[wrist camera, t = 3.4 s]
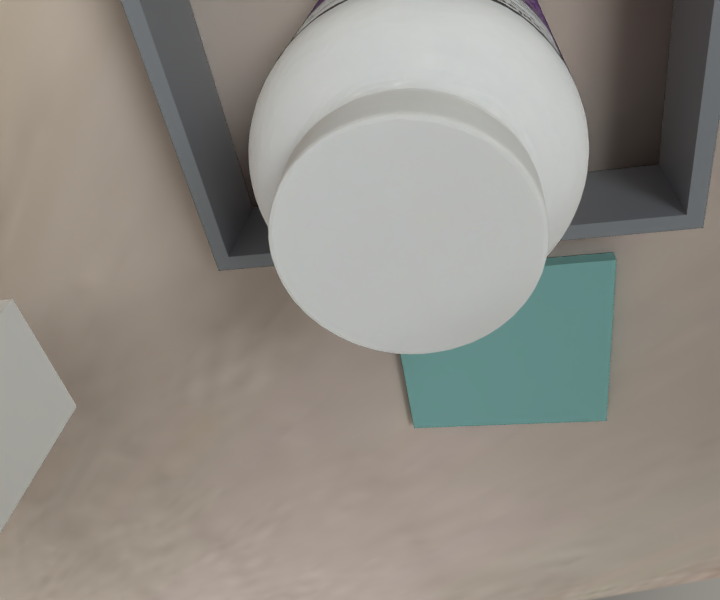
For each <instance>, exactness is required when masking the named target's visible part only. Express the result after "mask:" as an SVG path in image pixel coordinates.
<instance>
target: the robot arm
mask: <svg viewBox="0 0 720 600" xmlns="http://www.w3.org/2000/svg"><path fill="white" fill-rule="evenodd" d="M76 407H77V406H76V404H75V402H74V401H73V399H72V397H71V396H70V394H69V392H68V391H67V389H66V387H65V386H64V384H63V382H62V381H61V379H60V377H59V376H58V374H57V372H56V371H55V369H54V367H53V366H52V364H51V362H50V361H49V359H48V357H47V356H46V354H45V352H44V351H43V349H42V347H41V346H40V344H39V342H38V341H37V339H36V337H35V336H34V334H33V332H32V330H31V329H30V327H29V325H28V324H27V322H26V320H25V319H24V317H23V315H22V314H21V312H20V310H19V309H18V307H17V305H16V304H15V302H14V300H13V299H6V300H0V532H1V531H2V529H3V527H4V526H5V524H6V522H7V521H8V519H9V518H10V516H11V514H12V513H13V511H14V509H15V508H16V506H17V504H18V503H19V501H20V499H21V498H22V496H23V495H24V493H25V491H26V490H27V488H28V486H29V485H30V483H31V481H32V480H33V478H34V476H35V475H36V473H37V471H38V470H39V468H40V467H41V465H42V463H43V462H44V460H45V458H46V457H47V455H48V453H49V452H50V450H51V448H52V447H53V445H54V443H55V442H56V440H57V439H58V437H59V435H60V434H61V432H62V430H63V429H64V427H65V425H66V424H67V422H68V420H69V419H70V417H71V415H72V414H73V412H74V411H75V409H76Z"/></svg>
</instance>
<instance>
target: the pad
mask: <svg viewBox="0 0 720 600" xmlns="http://www.w3.org/2000/svg"><path fill="white" fill-rule="evenodd" d="M615 274H616V258H615V255H614V252H612V253H600V254H588V255H576V256H565V257H553V258H546V262H545V265H544V268H543V272H542V275H541V277H540V279H539V281H538V283H537V285H536V287H535V289H534V291H533V292H532V294H531V295H530V297H529V298H528V300H527V301H526V302H525V304H524V305H523V306H522V307H521V308H520V309H519V310H518V311H517V313H516V314H515V315H514V316H513V317H512V318H510V319H509V320H508V321H507V322H505V323H504V324H503V325H502V326H500V327H499V328H498V329H496V330H495V331H493V332H491V333H490V334H488V335H486V336H485V337H483V338H480V339H478V340H476V341H474V342H472V343H470V344H467V345H463V346H460V347H457V348H454V349H451V350H446V351H441V352H435V353H427V354H401V359H402V365H403V370H404V376H405V381H406V386H407V392H408V397H409V403H410V408H411V413H412V419H413V424H414V428H427V427H454V426H481V425H507V424H534V423H561V422H588V421H607V405H608V389H609V372H610V356H611V340H612V323H613V307H614V290H615Z"/></svg>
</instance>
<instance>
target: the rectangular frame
mask: <svg viewBox="0 0 720 600" xmlns="http://www.w3.org/2000/svg"><path fill="white" fill-rule="evenodd" d="M121 2H122V5H123V8H124V10H125V13H126V16H127V19H128V21H129V24H130V27H131V30H132V32H133V35H134V38H135V41H136V43H137V46H138V49H139V52H140V54H141V57H142V60H143V63H144V66H145V68H146V71H147V74H148V77H149V79H150V82H151V85H152V88H153V90H154V93H155V96H156V99H157V101H158V104H159V107H160V110H161V112H162V115H163V118H164V121H165V123H166V126H167V129H168V132H169V134H170V137H171V140H172V143H173V145H174V148H175V151H176V154H177V157H178V159H179V162H180V165H181V168H182V170H183V173H184V176H185V179H186V181H187V184H188V187H189V190H190V192H191V195H192V198H193V201H194V203H195V206H196V209H197V212H198V214H199V217H200V220H201V223H202V225H203V228H204V231H205V234H206V236H207V239H208V242H209V245H210V248H211V250H212V253H213V256H214V259H215V261H216V264H217V267H218V270H219V271H221V270H233V269H244V268H255V267H267V266H274V263H273V261H272V257H271V253H270V247H269V240H268V226H267V224H266V222H265V220H264V218H263V216H262V214H261V212H260V209H259V207H256V208H252V204H251V201H250V198H249V195H248V191H247V188H246V185H245V182H244V178H243V175H242V172H241V169H240V165H239V162H238V159H237V156H236V152H235V149H234V146H233V142H232V139H231V136H230V133H229V129H228V126H227V123H226V120H225V116H224V113H223V110H222V107H221V103H220V100H219V97H218V93H217V90H216V87H215V84H214V80H213V77H212V74H211V71H210V67H209V64H208V61H207V58H206V54H205V51H204V48H203V44H202V41H201V38H200V35H199V31H198V28H197V25H196V22H195V18H194V15H193V12H192V9H191V5H190V2H189V0H121ZM719 117H720V0H674V6H673V16H672V27H671V37H670V48H669V58H668V69H667V79H666V90H665V100H664V110H663V121H662V131H661V142H660V152H659V163H658V165H650V166H640V167H631V168H622V169H612V170H603V171H593V172H587V177H586V182H585V186H584V190H583V193H582V197H581V200H580V203H579V205H578V208H577V210H576V213H575V215H574V217H573V219H572V221H571V223H570V225H569V227H568V228H567V230H566V232H565V233H564V235H563V237H562V238H561V239H560V241H561V240H572V239H583V238H595V237H606V236H617V235H629V234H640V233H651V232H663V231H674V230H685V229H697V228H703V225H704V219H705V212H706V205H707V198H708V192H709V185H710V178H711V171H712V165H713V158H714V151H715V144H716V137H717V131H718V124H719Z"/></svg>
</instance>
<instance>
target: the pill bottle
mask: <svg viewBox="0 0 720 600" xmlns="http://www.w3.org/2000/svg"><path fill="white" fill-rule="evenodd" d="M248 151H249V170H250V176H251V182H252V187H253V191H254V195H255V198H256V201H257V204H258V207H259V209H260V212H261V214H262V216H263V218H264V220H265V222H266V224H267V226H268V240H269V247H270V253H271V257H272V261H273V263H274V266H275V268H276V271H277V274H278V276H279V278H280V280H281V282H282V284H283V286H284V287H285V289H286V290H287V292H288V293H289V295H290V296H291V298H292V299H293V300H294V301H295V303H296V304H297V305H298V306H299V307H300V308H301V309H302V310H303V311H304V312H305V313H306V314H307V315H308V316H309V317H310V318H312V319H313V320H314V321H315V322H317V323H318V324H319V325H320V326H322V327H323V328H325V329H327V330H328V331H330V332H332V333H333V334H335V335H337V336H339V337H341V338H343V339H345V340H347V341H349V342H351V343H354V344H357V345H360V346H363V347H366V348H370V349H373V350H377V351H383V352H388V353H396V354H427V353H435V352H441V351H446V350H451V349H454V348H457V347H460V346H463V345H467V344H470V343H472V342H474V341H476V340H478V339H480V338H483V337H485V336H486V335H488V334H490V333H491V332H493V331H495V330H496V329H498V328H499V327H500V326H502V325H503V324H504V323H505V322H507V321H508V320H509V319H510V318H512V317H513V316H514V315H515V314H516V313H517V311H518V310H519V309H520V308H521V307H522V306H523V305H524V304H525V302H526V301H527V300H528V298H529V297H530V295H531V294H532V292H533V291H534V289H535V287H536V285H537V283H538V281H539V279H540V277H541V275H542V272H543V268H544V265H545V262H546V258H547V256H548V255H549V254H550V252H551V251H552V250H553V249H554V248H555V246H556V245H557V244H558V242H559V241H560V239H561V238H562V237H563V235H564V233H565V232H566V230H567V228H568V227H569V225H570V223H571V221H572V219H573V217H574V215H575V213H576V210H577V208H578V205H579V203H580V200H581V197H582V193H583V190H584V186H585V182H586V177H587V171H588V160H589V138H588V128H587V121H586V116H585V112H584V108H583V105H582V102H581V99H580V96H579V93H578V90H577V88H576V85H575V83H574V80H573V78H572V76H571V74H570V72H569V69H568V68H567V65H566V63H565V61H564V59H563V57H562V55H561V52H560V50H559V48H558V46H557V44H556V41H555V39H554V37H553V35H552V33H551V30H550V28H549V26H548V24H547V22H546V19H545V17H544V15H543V13H542V10H541V8H540V6H539V4H538V1H537V0H319V1H318V2H317V4H316V5H315V7H314V8H313V10H312V11H311V13H310V14H309V16H308V17H307V19H306V20H305V22H304V23H303V25H302V26H301V27H300V29H299V30H298V32H297V33H296V34H295V36H294V37H293V39H292V40H291V42H290V43H289V44H288V46H287V47H286V48H285V50H284V51H283V52H282V54H281V55H280V57H279V58H278V60H277V62H276V64H275V65H274V67H273V68H272V70H271V71H270V73H269V75H268V77H267V79H266V81H265V83H264V85H263V87H262V90H261V92H260V95H259V97H258V99H257V103H256V106H255V110H254V114H253V118H252V122H251V128H250V133H249V146H248Z"/></svg>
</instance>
